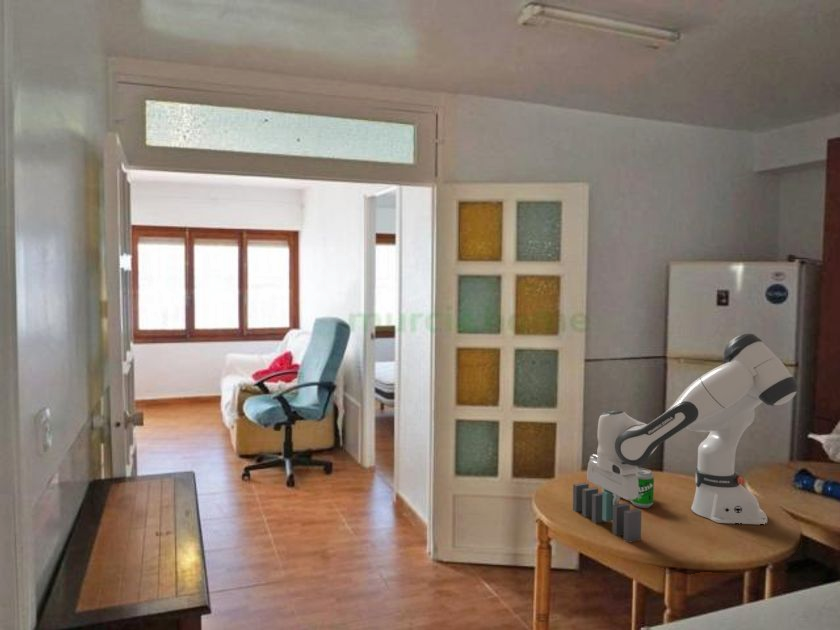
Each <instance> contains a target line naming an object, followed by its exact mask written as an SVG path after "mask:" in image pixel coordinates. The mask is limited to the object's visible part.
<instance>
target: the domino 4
mask: <svg viewBox="0 0 840 630" xmlns="http://www.w3.org/2000/svg"><path fill="white" fill-rule="evenodd" d="M613 498H614V496H613V493H612V492H610V491H604V492H603V501H602V520H604V521H605V522H606V523H607V522H611V521H612V522H613V506H612V505H611V500H613ZM618 504H620V500H619V501H618Z"/></svg>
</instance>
